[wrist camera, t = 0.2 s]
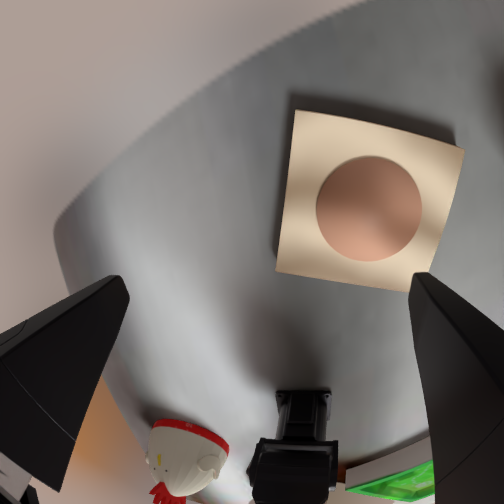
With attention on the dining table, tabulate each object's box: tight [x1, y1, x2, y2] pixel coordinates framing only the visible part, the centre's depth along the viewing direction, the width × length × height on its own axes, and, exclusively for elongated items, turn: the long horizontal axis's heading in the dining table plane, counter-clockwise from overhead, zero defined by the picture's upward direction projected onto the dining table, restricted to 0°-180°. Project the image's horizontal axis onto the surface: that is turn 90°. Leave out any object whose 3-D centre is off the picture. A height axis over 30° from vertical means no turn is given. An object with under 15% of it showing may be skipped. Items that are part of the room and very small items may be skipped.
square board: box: [275, 109, 465, 292], centre depth 21 cm, size 12×12×2 cm
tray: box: [345, 436, 435, 502], centre depth 38 cm, size 25×25×5 cm
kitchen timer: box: [145, 419, 229, 504], centre depth 39 cm, size 14×14×15 cm
